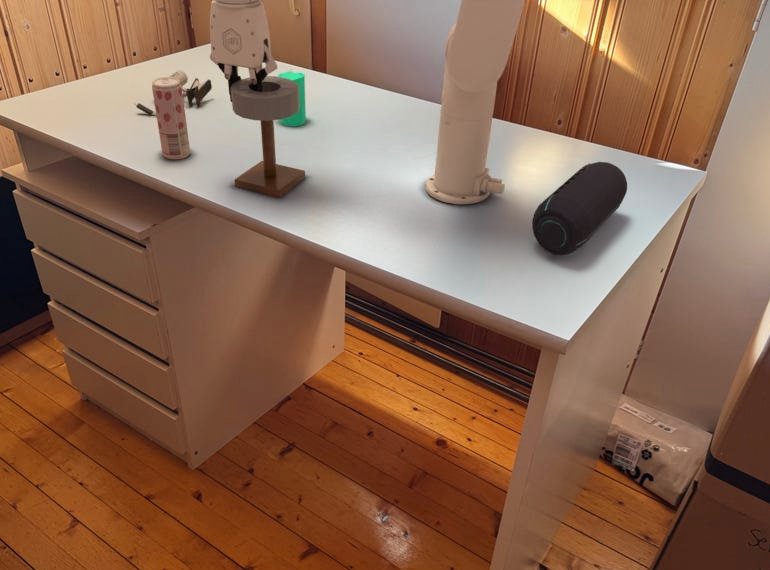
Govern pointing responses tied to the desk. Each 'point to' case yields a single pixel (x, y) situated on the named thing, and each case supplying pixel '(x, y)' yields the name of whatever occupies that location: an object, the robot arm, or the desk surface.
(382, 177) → the desk surface
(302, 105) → the candle
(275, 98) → the tape
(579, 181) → the portable speaker
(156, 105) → the beverage can
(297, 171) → the rack
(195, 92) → the clip-on lamp
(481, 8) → the robot arm
